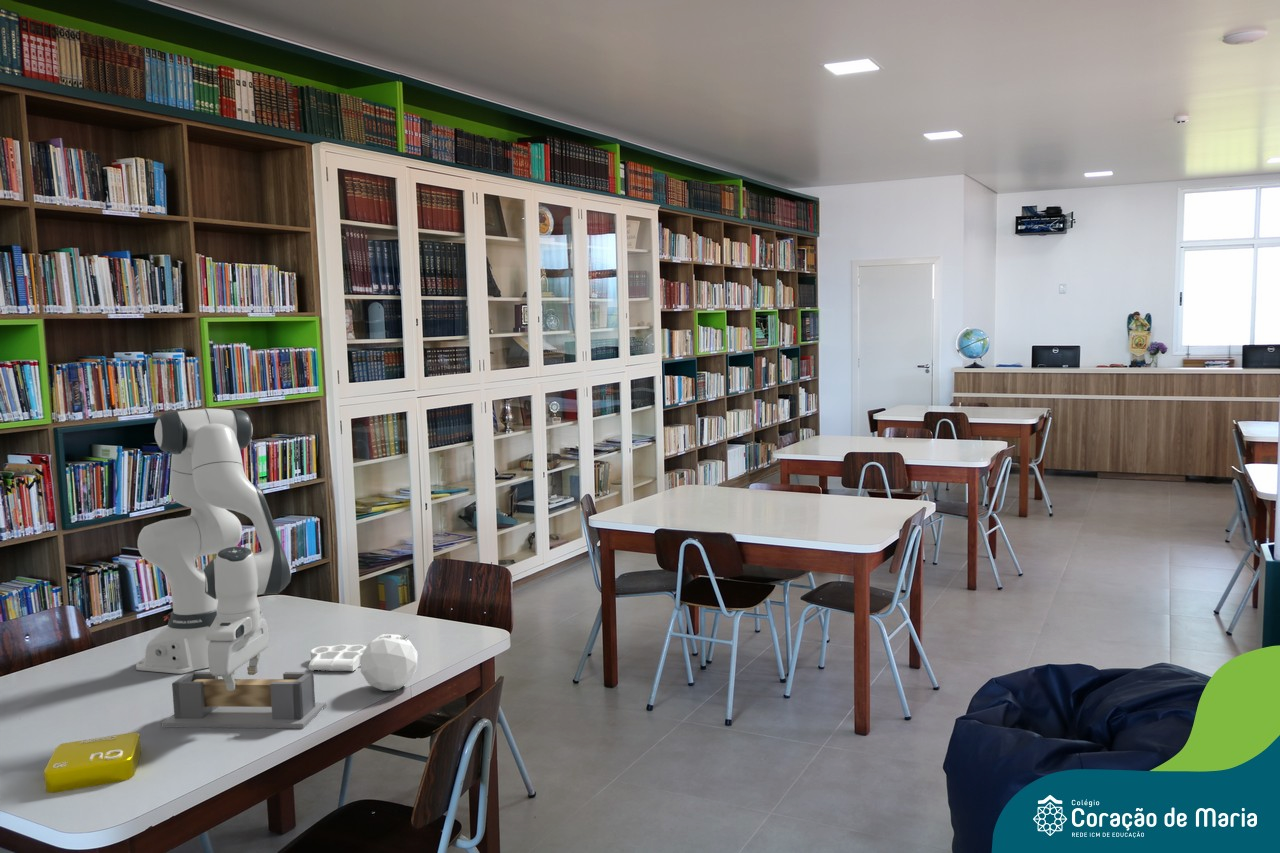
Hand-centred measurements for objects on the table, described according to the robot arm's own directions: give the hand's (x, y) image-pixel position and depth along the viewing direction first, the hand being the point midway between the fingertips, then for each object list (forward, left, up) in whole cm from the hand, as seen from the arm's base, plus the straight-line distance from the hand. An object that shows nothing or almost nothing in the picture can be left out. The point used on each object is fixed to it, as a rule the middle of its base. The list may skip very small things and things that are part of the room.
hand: (242, 681), depth 213 cm
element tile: (-17, -27, -9) cm, 33 cm away
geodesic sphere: (+27, +18, -8) cm, 34 cm away
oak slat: (0, 0, -5) cm, 5 cm away
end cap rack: (0, 0, -8) cm, 8 cm away
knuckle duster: (+8, +35, -9) cm, 37 cm away
